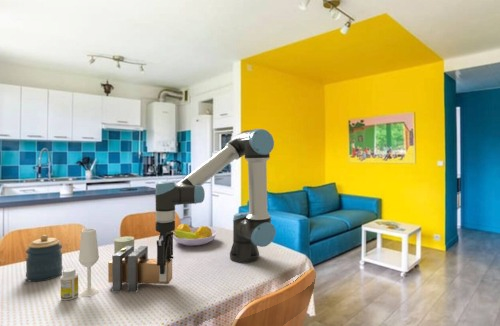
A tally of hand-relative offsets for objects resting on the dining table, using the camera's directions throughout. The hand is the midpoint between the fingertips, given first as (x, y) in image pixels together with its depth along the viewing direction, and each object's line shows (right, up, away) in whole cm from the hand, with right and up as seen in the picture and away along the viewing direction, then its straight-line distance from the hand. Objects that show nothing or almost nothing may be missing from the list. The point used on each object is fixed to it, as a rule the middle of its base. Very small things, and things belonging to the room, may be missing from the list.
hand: (165, 277), depth 117 cm
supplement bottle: (-32, -3, -10) cm, 34 cm away
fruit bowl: (0, -2, +57) cm, 57 cm away
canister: (-55, -3, +9) cm, 56 cm away
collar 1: (-17, -3, +1) cm, 17 cm away
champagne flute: (-27, -3, -6) cm, 28 cm away
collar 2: (-11, -3, +1) cm, 12 cm away
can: (-27, -2, +25) cm, 37 cm away
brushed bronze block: (-10, -1, 0) cm, 10 cm away
